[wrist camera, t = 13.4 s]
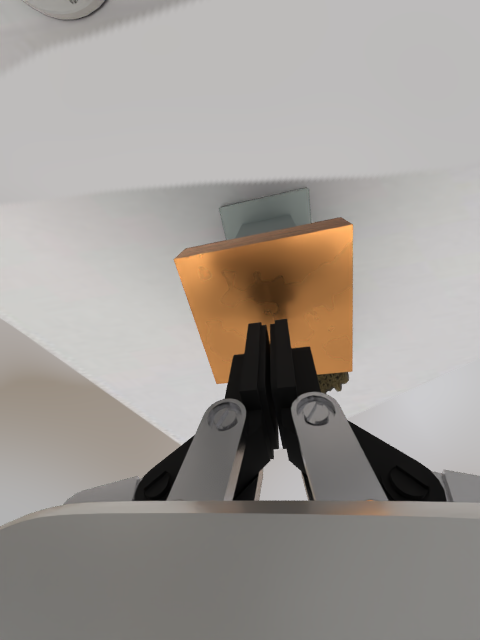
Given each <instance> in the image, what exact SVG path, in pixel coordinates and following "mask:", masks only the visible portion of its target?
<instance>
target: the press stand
mask: <svg viewBox="0 0 480 640" xmlns="http://www.w3.org/2000/svg"><path fill="white" fill-rule="evenodd" d="M219 211H220V215H221V219H222V223H223V228H224V232H225V236H226V240H230V239H235V238H240V237H245V236H250V235H255V234H260V233H265V232H270V231H275V230H280V229H285V228H290V227H295V226H300V225H305V224H310V223H311V215H310V202H309V188H307V187H306V188H302V189H298V190H293V191H289V192H284V193H280V194H276V195H271V196H267V197H262V198H258V199H254V200H249V201H245V202H240V203H236V204H232V205H227V206H223V207H220V208H219Z"/></svg>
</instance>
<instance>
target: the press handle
mask: <svg viewBox="0 0 480 640" xmlns="http://www.w3.org/2000/svg"><path fill="white" fill-rule="evenodd" d="M174 262H175V264H176V267H177V270H178V273H179V276H180V279H181V282H182V285H183V288H184V291H185V293H186V296H187V299H188V302H189V305H190V308H191V311H192V314H193V317H194V320H195V323H196V325H197V328H198V331H199V334H200V337H201V340H202V343H203V346H204V349H205V352H206V354H207V357H208V360H209V363H210V366H211V369H212V372H213V375H214V378H215V381H216V383H217V384H221V383H228V380H229V375H230V369H231V364H232V359H233V356H234V355H237V354H244V352H245V345H246V337H247V330H248V324H250V323H258V322H261V323H262V325H266V326H267V330H268V336H269V341H270V324H275V320H280V319H287V321H288V328H289V335H290V342H291V348H300V347H309V346H310V348H311V352H312V356H313V360H314V364H315V369H316V373H317V375H319V374H330V373H340V372H351V371H352V318H353V224H351V223H349V222H348V221H346V220H344V219H343V218H341V217H340V218H335V219H330V220H325V221H320V222H315V223H310V224H305V225H300V226H295V227H290V228H285V229H280V230H275V231H270V232H265V233H260V234H255V235H250V236H245V237H240V238H235V239H230V240H225V241H220V242H215V243H210V244H206V245H201V246H196V247H191V248H186V249H185V250H183V251H182V252H181V253H180V254H179V255H178V256H177V257H176V258H175V259H174Z"/></svg>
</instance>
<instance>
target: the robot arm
mask: <svg viewBox="0 0 480 640" xmlns="http://www.w3.org/2000/svg"><path fill="white" fill-rule="evenodd" d="M22 1H24V2H25V3H26V4H28V5H29V6H31V7H32V8H34V9H36V10H37V11H39V12H41V13H43V14H45V15H47V16H50V17H54V18H58V19H78V18H81V17H84V16H87V15H89V14H90V13H92V12H93V11H94V10H96V9H97V8H99V7H100V6H101V4H102V3H103V2H104V1H105V0H22ZM77 1H78V2H77ZM278 427H279V431H280V436H281V441H282V446H283V449H287V453H288V457H289V461H291V462H292V463H293V464H294V465H295V466H296V467H298V469H300V470H301V473H302V478H303V482H304V486H305V490H306V494H307V497H308V501H259V497H260V491H261V485H262V479H263V467H264V466H265V465H266V464H267V463H268V462H269V461H270V459H274V449H279V439H278ZM0 640H480V476H477V475H471V474H466V473H460V472H454V471H449V470H443V473H437V472H432V471H430V470H429V469H428V468H426V467H425V466H423V465H422V464H421V463H419V462H418V461H416V460H414V459H413V458H411V457H409V456H407V455H406V454H404V453H402V452H400V451H399V450H397V449H395V448H394V447H392V446H390V445H389V444H387V443H385V442H384V441H382V440H380V439H379V438H377V437H375V436H373V435H371V434H370V433H368V432H367V431H365V430H363V429H361V428H360V427H358V426H357V425H355V424H353V423H351V422H350V421H348V420H347V419H346V417H345V415H344V413H343V411H342V409H341V407H340V405H339V404H338V403H337V401H336V400H335V399H334V398H332V397H331V396H329V395H327V394H324V393H321V389H320V385H319V381H318V377H317V373H316V369H315V364H314V360H313V356H312V352H311V348H310V346H309V347H300V348H291V342H290V335H289V328H288V321H287V319H280V320H275V324H270V341H269V336H268V330H267V326H266V325H262V323H261V322H258V323H250V324H248V330H247V337H246V345H245V352H244V354H237V355H234V356H233V359H232V364H231V369H230V375H229V380H228V385H227V390H226V395H225V399H223V400H220V401H217V402H215V403H214V404H212V405H211V406H210V407H209V408H208V409H207V410H206V412H205V414H204V416H203V418H202V420H201V422H200V425H199V427H198V429H197V432H196V434H195V435H194V436H193V437H192V438H190V439H189V440H188V441H187V442H185V443H184V444H183V445H181V446H180V447H179V448H178V449H176V450H175V451H174V452H173V453H171V454H170V455H169V456H168V457H166V458H165V459H164V460H162V461H161V462H160V463H159V464H157V465H156V466H155V467H154V468H152V469H151V470H150V471H149V472H148V473H147V474H146V475H145V476H144V477H143V478H141V479H139V477H138V476H135V477H132V478H128V479H124V480H120V481H117V482H113V483H110V484H106V485H102V486H98V487H95V488H91V489H87V490H84V491H81V492H79V493H77V494H75V495H73V496H72V497H71V498H69V499H68V500H67V501H66V502H65V503H64V504H63V505H60V506H55V507H51V508H47V509H43V510H40V511H36V512H34V513H30V514H28V515H25V516H23V517H20V518H18V519H16V520H13V521H11V522H9V523H6V524H4V525H2V526H0Z"/></svg>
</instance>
